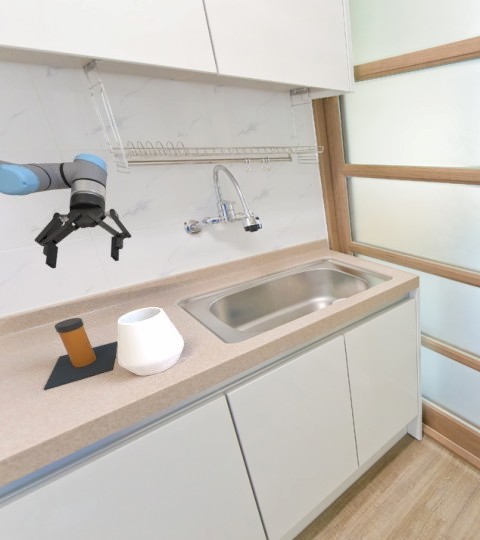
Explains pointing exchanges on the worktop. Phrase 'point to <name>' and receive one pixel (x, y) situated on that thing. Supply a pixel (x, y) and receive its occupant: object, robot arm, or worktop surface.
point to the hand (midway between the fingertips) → (83, 262)
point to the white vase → (148, 341)
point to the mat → (69, 373)
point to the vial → (76, 342)
